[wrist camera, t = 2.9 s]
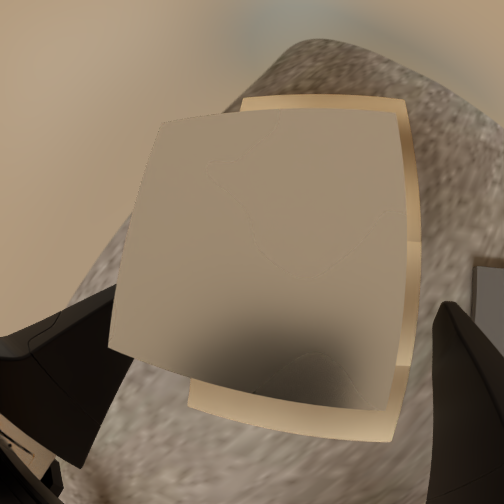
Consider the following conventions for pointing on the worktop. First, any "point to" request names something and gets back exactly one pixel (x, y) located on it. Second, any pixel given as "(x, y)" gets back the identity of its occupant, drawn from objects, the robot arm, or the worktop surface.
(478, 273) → the rubber mat
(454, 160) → the worktop surface
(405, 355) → the wooden block with hole
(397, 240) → the steel bar
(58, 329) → the robot arm
